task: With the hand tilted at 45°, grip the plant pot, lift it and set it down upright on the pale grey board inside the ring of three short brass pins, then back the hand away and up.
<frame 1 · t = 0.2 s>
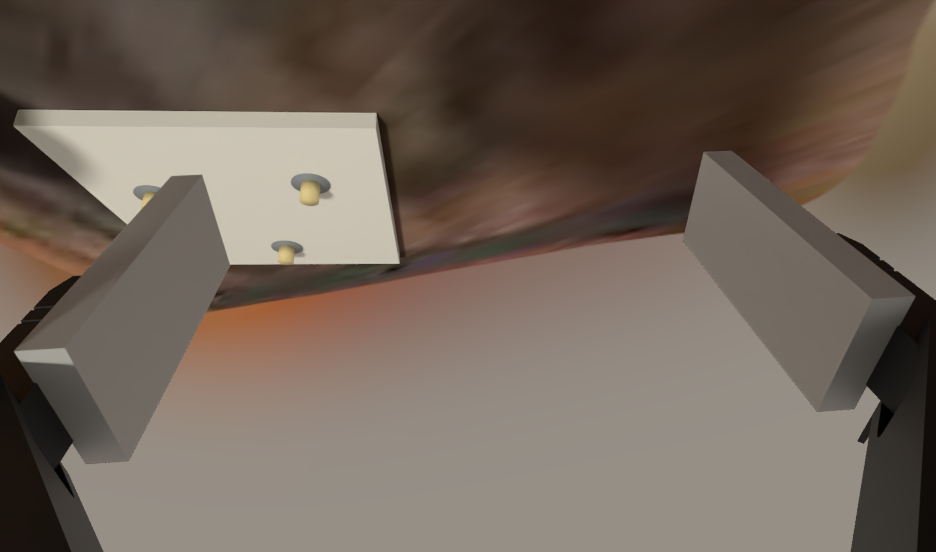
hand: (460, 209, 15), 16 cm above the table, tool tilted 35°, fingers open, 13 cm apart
pin board: (254, 198, 45), on the table
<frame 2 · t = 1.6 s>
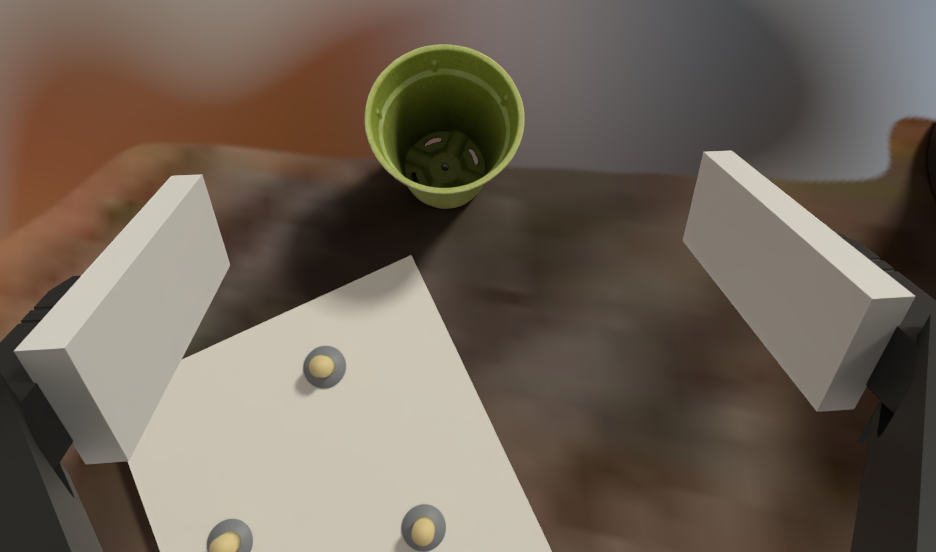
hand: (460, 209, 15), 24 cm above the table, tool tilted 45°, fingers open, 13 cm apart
plant pot: (445, 172, 41), on the table
pin board: (330, 473, 37), on the table
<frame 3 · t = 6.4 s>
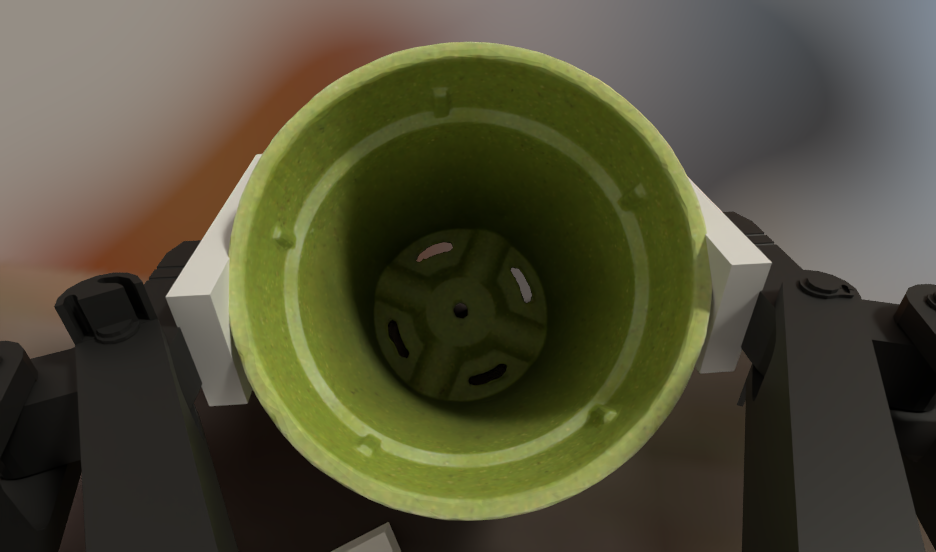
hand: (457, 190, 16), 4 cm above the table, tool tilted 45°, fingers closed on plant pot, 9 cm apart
plant pot: (461, 316, 19), on the table, touching gripper
when the fingers open (6 cm above the table, at t = 12.3 s): plant pot drops 1 cm, resting on pin board.
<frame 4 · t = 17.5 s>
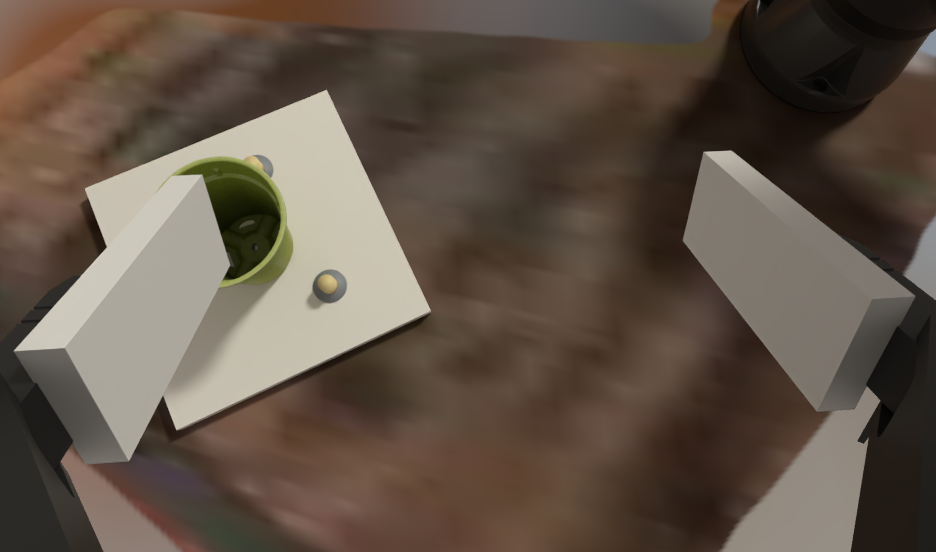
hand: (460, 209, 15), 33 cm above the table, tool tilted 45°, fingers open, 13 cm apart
plant pot: (258, 250, 47), point 1 cm above the table, touching pin board
pin board: (261, 252, 48), on the table
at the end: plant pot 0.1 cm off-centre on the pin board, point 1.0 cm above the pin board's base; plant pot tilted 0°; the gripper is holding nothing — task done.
